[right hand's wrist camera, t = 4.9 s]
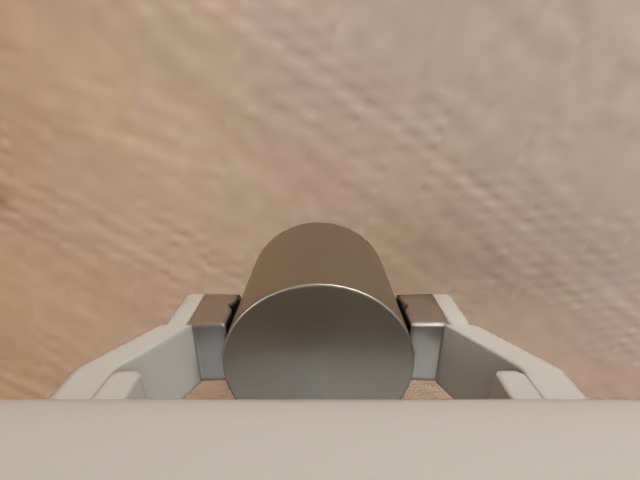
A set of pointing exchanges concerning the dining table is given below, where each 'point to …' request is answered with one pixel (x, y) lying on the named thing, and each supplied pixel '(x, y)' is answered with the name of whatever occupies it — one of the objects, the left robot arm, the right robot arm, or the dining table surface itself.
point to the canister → (318, 322)
